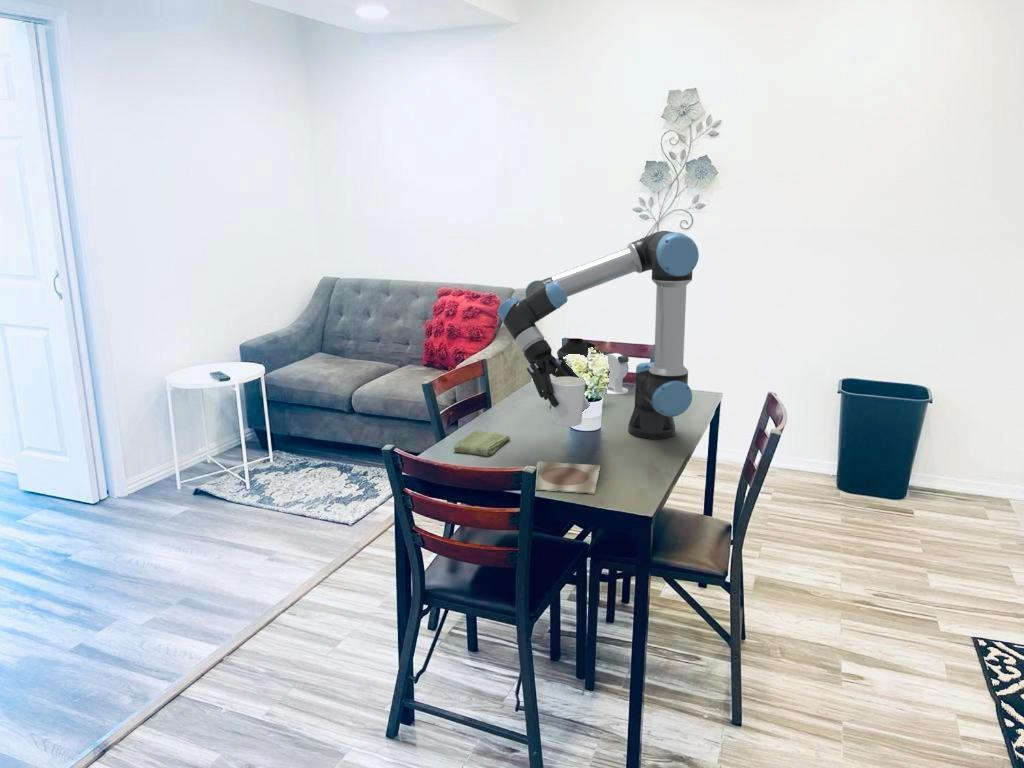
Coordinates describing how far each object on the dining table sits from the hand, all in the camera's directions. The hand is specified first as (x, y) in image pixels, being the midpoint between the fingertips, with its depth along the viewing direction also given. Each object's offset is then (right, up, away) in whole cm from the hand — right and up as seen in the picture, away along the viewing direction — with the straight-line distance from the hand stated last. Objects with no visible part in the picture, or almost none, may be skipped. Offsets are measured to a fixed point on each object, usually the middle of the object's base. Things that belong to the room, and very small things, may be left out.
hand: (576, 411), depth 209 cm
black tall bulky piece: (+5, -1, +66) cm, 66 cm away
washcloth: (-27, -12, +25) cm, 39 cm away
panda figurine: (+22, +5, +87) cm, 90 cm away
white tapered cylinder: (-2, -3, +3) cm, 5 cm away
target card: (-3, -18, -1) cm, 19 cm away
